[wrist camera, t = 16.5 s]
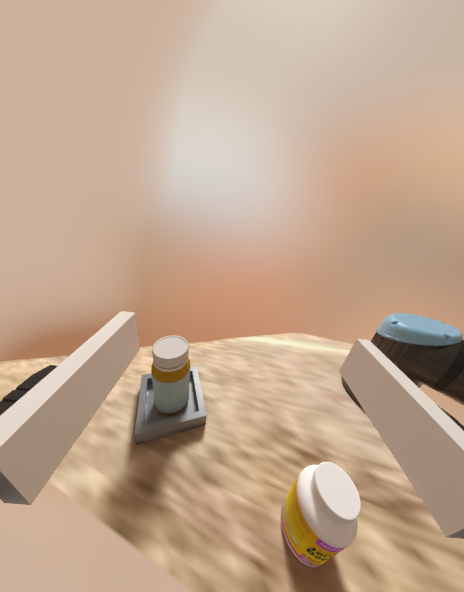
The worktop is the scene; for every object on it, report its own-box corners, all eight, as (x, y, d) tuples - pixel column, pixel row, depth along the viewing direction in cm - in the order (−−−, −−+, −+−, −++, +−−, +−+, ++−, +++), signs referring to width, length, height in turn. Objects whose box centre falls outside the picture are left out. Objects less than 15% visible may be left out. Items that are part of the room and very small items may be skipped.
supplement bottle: (291, 574, 22) (328, 542, 16) (273, 496, 28) (295, 454, 22) (339, 563, 23) (388, 529, 18) (311, 490, 29) (342, 449, 23)
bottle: (195, 394, 40) (198, 342, 34) (173, 423, 34) (172, 367, 28) (171, 380, 42) (170, 329, 36) (147, 405, 37) (140, 349, 30)
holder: (196, 374, 46) (196, 366, 45) (205, 424, 36) (206, 415, 34) (143, 384, 42) (142, 375, 41) (136, 444, 31) (134, 434, 30)
